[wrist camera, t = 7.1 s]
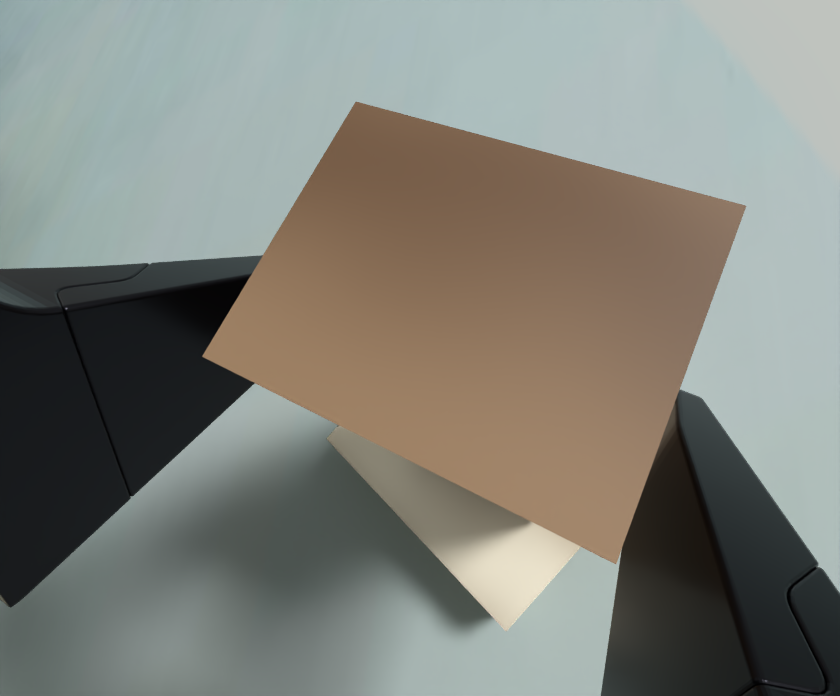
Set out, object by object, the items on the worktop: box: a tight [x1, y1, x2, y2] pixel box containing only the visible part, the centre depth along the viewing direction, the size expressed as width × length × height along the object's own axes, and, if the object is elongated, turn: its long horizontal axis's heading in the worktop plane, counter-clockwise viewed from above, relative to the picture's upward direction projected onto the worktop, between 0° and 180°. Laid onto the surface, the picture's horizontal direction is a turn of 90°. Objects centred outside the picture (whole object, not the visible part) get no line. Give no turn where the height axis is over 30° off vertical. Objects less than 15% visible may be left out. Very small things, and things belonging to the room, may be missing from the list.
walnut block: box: [202, 102, 746, 564], centre depth 11 cm, size 4×5×12 cm
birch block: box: [327, 425, 581, 631], centre depth 18 cm, size 9×9×3 cm
